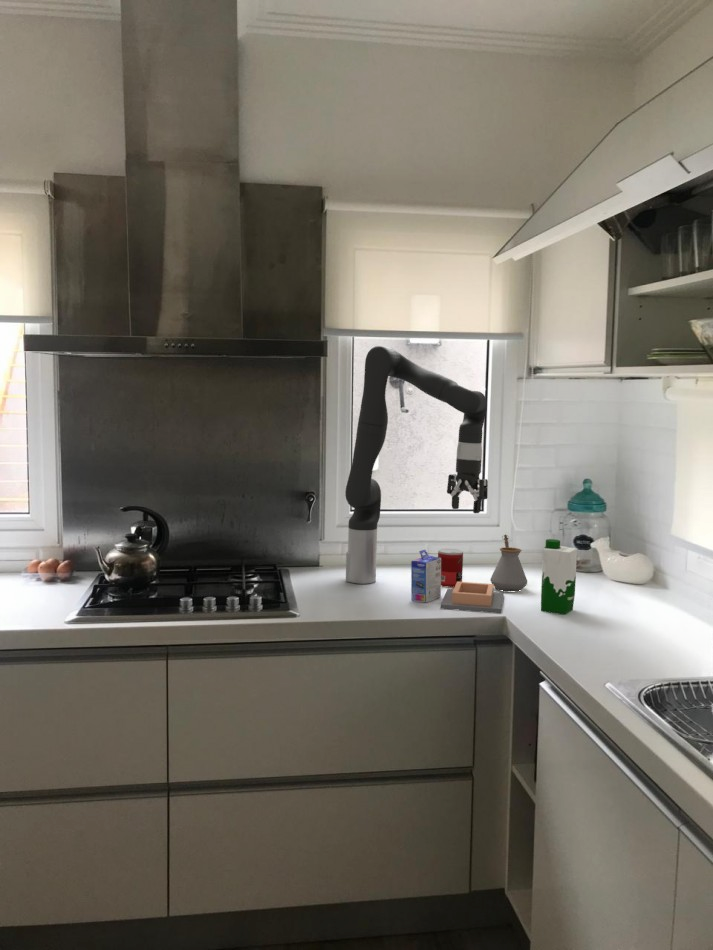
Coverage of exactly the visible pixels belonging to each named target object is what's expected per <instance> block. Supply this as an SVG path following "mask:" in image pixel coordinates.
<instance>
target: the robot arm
mask: <svg viewBox="0 0 713 950" xmlns="http://www.w3.org/2000/svg"><path fill="white" fill-rule="evenodd" d="M363 377H364V379H363V390H362V391H363V392H362V398H361V404H360V410H359V416H358V423H357V428H356V436H355V444H354V447H353V448H354V449H353V450H354V451H353V454H352V455H353V456H352V463H351V467H350V471H349V474H348V478H347V483H346V486H345V495H344V496H345V500H346V503H348V505H349V506H350V507H352V508H353V509H354V510H353V513H352V515H351V517H349V520H348V527H347V528H348V533H347V535H348V536H347V537H348V538H347V551H346V554H345V556H346V557H345V558H346V559H345V582H346V583H352V584H359V585H360V584H361V585H363V584H365V585H367V584H373V583H375V582H376V580H377V579H376V578H377V550H378V549H377V546H378V545H377V543H378V542H377V541H378V523H379V520H380V517H381V508H382V507H381V505H382V504H381V502H382V491H381V487H380V484H379V482H378V481H377V480H375V479H374V478H372V477H373V469H374V467H375V464H376V461H377V459H378V458H379V457H378V456H379V455H380V453H381V451H382V449H383V446H384V443H385V441H386V435H387V429H388V422H389V417H388V416H389V414H388V413H389V412H388V408H387V401H386V391H387V389H386V388H387V384H388V379H389V377H391V378H396V379H399V380H401V381H405V382H407V383H408V384H411V385H412V386H414V387H416V388H417V389H419V390H420V391H421V392H423V393H424V394H426V395H428V396H430V397H432V398H434V399H437V400H438V401H441V402H443V403H446V404H447V405H449V406H451V407H452V408H453V409H455V410H457V411H458V412H460V413H462V414H463V419H462V423H460V425H459V429H458V440H457V441H458V443H457V448H456V459H455V460H456V463H455V473H456V474H455V473H454V474H449V475H448V476H447V477H448V478H447V487H446V493H447V494H449V495H450V497H451V508H452V510H459V507H460V495H461V494H462V492H464V491H465V492H468V493H470V495H472V497H473V499H474V500H473V507H472V508H473V509H472V512H473V514H480V513H481V511H482V501H484V500H488V492H489V491H488V489H489V480H488V479H487V478H483V479H481V478H480V474H481V473H482V460H483V459H482V456H483V427H484V424H485V423H484V422H485V419H486V414H487V409H488V408H487V406H488V404H487V399H486V395H485V394H484V393H482V392H481V391H478V390H472V389H471V390H470V389H468V388H466V387H463V386H461V385H459V384H458V382H456V381H454V380H452V379H450V378H448V377H446V376H444V375H441V374H439V373H437V372H435V371H433V370H431V369H428V368H425V367H422V366H421V365H419V364H417V363H415V362H414V361H412V360H411V359H409V358H407V357H406V356H404V355H403V354H402V353H400V352H398V351H397V350H396V349H395V348H392V347H390V346H385V345H376V346H373V347H371V349H370V350H369V351H368V352H367V354H366V357H365V361H364V376H363Z"/></svg>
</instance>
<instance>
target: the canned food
mask: <svg viewBox="0 0 713 950" xmlns="http://www.w3.org/2000/svg"><path fill="white" fill-rule="evenodd" d="M437 551H438V552H437V557H441V585H442V586H441V587H444V586H448V587H447V588H455V585H456V583H457V581H458V582H463V571H464V570H463V568H464V567H463V566H464V564H463V563H464V550H461V549H457V548H441V549H440V548H439V549H438V550H437Z"/></svg>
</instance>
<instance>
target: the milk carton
mask: <svg viewBox="0 0 713 950" xmlns="http://www.w3.org/2000/svg"><path fill="white" fill-rule="evenodd" d="M541 552H542V553H541V554H542V566H541V568H542V569H541V570H542V572H541V586H540V587H541V589H540V592H541V593H540V611H541V612H545V611H546V612H547V613H551V612H552V614H557V613H558V614H559V615H564V616H565V615H567V614H568V613H570V612H571V611H573V609H574V602H575V596H576V579H577V576H576V575H577V561H578V560H577V557H578V548H577V547H569V546H562V545H561V540H559V539H553V538H551V539H548V538H547V539H545V546H544V547H543V548H542V550H541ZM558 614H557V615H558Z"/></svg>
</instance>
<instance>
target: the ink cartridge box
mask: <svg viewBox="0 0 713 950" xmlns="http://www.w3.org/2000/svg"><path fill="white" fill-rule="evenodd" d="M424 553H425V554H424ZM419 554H420V557H418V558H416V559H413V560H410V561H411V562H410V564H411V565H410V566H411V567H410V569H411V572H410V573H411V580H410V582H411V585H410V586H411V588H410V591H411V593H410V594H411V595H410V596H411V599H410V600H411V601H412V602H416V603H423V604H426V603H429V602H432V601H434V600H436V599H438V598H440V597H442V595H441V593H442V591H441V590H442V586H441V557H438V556H436V555H435V556H433V555H429V554H428V552H427V550H426V549H422V550H420V551H419Z"/></svg>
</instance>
